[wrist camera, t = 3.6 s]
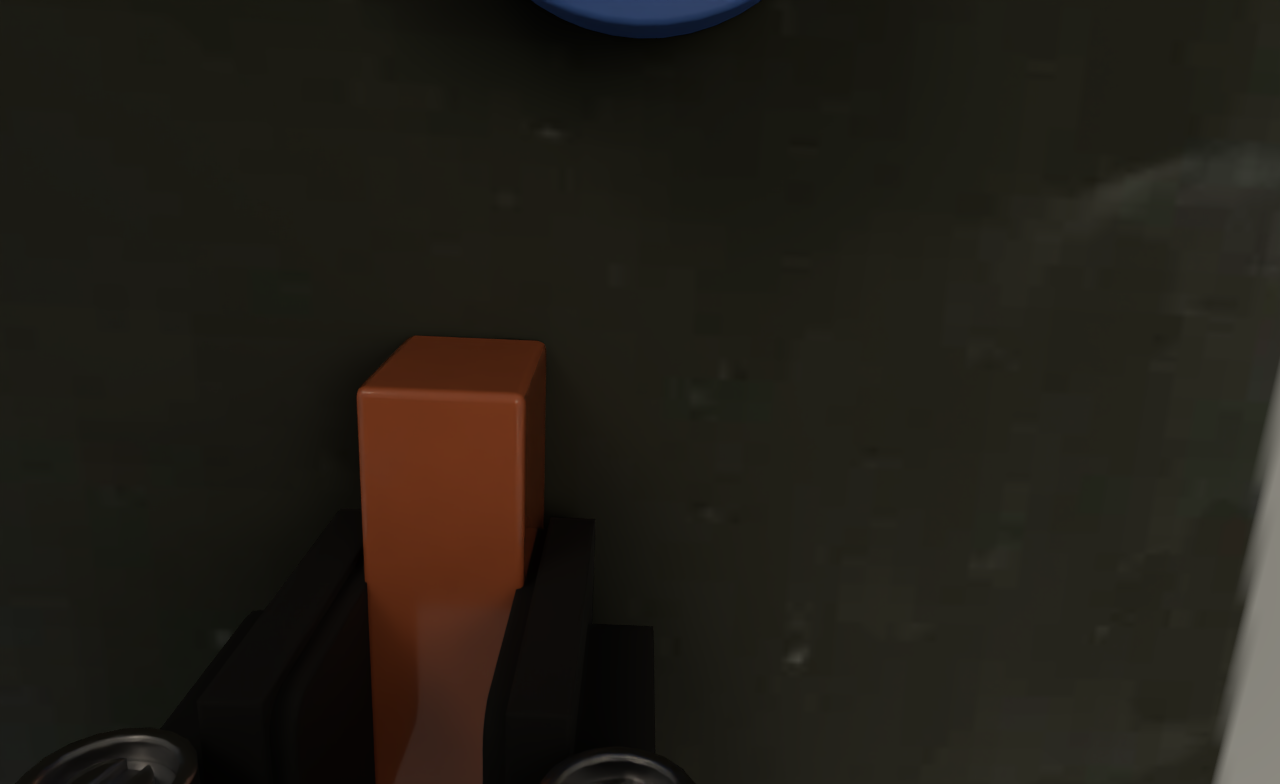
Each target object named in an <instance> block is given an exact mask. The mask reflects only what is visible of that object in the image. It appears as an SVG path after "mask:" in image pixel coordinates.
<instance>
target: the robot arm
mask: <svg viewBox="0 0 1280 784" xmlns="http://www.w3.org/2000/svg"><path fill="white" fill-rule="evenodd" d="M594 550H595V519H582V518H558V517H551V518H550V521H549V526H548V529H540V528H539V529H538V531H537V536H536V540H535V544H534V548H533V552H532V556H531V560H530V564H529V568H528V572H527V576H526V580H525V584H524V586H523V587H522V588H520V589H516V592H515V595H514V599H513V603H512V607H511V611H510V614H509V618H508V622H507V626H506V629H505V633H504V637H503V641H502V645H501V648H500V652H499V656H498V660H497V663H496V667H495V671H494V675H493V679H492V682H491V686H490V690H489V694H488V698H487V703H486V710H485V717H484V727H483V749H482V751H483V784H695V783H694V782H693V780H692V779H691V778H690V777H689V776H688V775H687V773H686V772H685V771H684V770H683V769H682V768H681V767H679V766H678V765H676V764H674V763H673V762H671V761H670V760H668V759H667V758H665V757H663V756H660V755H657V754H655V702H654V634H653V626H631V625H607V624H592V611H593V581H594ZM15 784H376V783H375V760H374V736H373V712H372V689H371V665H370V641H369V618H368V594H367V582H365V580H364V563H363V541H362V518H361V509H343V508H341V509H340V510H339V511H338V512H337V513H336V515H335V516H334V517H333V519H332V520H331V521H330V523H329V524H328V525H327V527H326V528H325V529H324V531H323V532H322V533H321V535H320V536H319V537H318V539H317V540H316V542H315V543H314V544H313V546H312V547H311V548H310V550H309V551H308V552H307V554H306V555H305V556H304V558H303V559H302V560H301V562H300V563H299V564H298V566H297V567H296V568H295V570H294V571H293V572H292V574H291V575H290V576H289V578H288V579H287V581H286V582H285V583H284V585H283V586H282V587H281V589H280V590H279V591H278V593H277V594H276V595H275V597H274V598H273V599H272V601H271V602H270V603H269V605H268V606H267V607H266V609H265V610H257V611H252V612H251V613H250V614H249V615H248V616H247V617H246V618H245V619H244V621H243V622H242V623H241V624H240V626H239V627H238V628H237V630H236V631H235V632H234V634H233V635H232V636H231V637H230V639H229V640H228V641H227V643H226V644H225V645H224V647H223V648H222V649H221V650H220V652H219V653H218V654H217V656H216V657H215V658H214V660H213V661H212V662H211V663H210V665H209V666H208V667H207V669H206V670H205V671H204V673H203V674H202V675H201V676H200V678H199V679H198V680H197V682H196V683H195V684H194V686H193V687H192V688H191V689H190V691H189V692H188V693H187V695H186V696H185V697H184V699H183V700H182V701H181V702H180V704H179V705H178V706H177V708H176V709H175V710H174V712H173V713H172V714H171V715H170V717H169V718H168V719H167V721H166V722H165V723H164V725H163V726H162V727H161V728H160V729H156V728H124V729H119V730H114V731H109V732H104V733H100V734H96V735H93V736H90V737H87V738H85V739H82V740H79V741H76V742H74V743H71V744H68V745H67V746H65V747H63V748H61V749H59V750H58V751H56V752H54V753H52V754H50V755H48V756H47V757H45V758H43V759H42V760H41V761H40V762H39V763H37V764H36V765H35V766H34V767H32V768H31V769H30V770H29V771H28V772H26V773H25V774H24V775H23V776H22V777H21V778H20V779H19V780H18V781H17V782H16V783H15Z"/></svg>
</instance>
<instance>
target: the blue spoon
mask: <svg viewBox="0 0 1280 784" xmlns="http://www.w3.org/2000/svg"><path fill="white" fill-rule="evenodd" d="M532 1H533V2H534V3H535V4H537V5H538V6H540V7H542V8H543V9H545V10H547V11H549V12H550V13H552V14H554V15H556V16H557V17H559V18H561V19H563V20H566V21H568V22H570V23H573V24H575V25H578V26H580V27H583V28H585V29H589V30H592V31H596V32H600V33H604V34H608V35H612V36H621V37H630V38H665V37H671V36H678V35H684V34H690V33H693V32H696V31H699V30H703V29H706V28H709V27H712V26H715V25H718V24H720V23H722V22H724V21H726V20H728V19H731V18H733V17H735V16H737V15H739V14H741V13H742V12H744V11H746V10H747V9H749V8H750V7H752V6H753V5H755V4H757V3H758V2H760V1H761V0H532Z"/></svg>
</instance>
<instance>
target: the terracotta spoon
mask: <svg viewBox="0 0 1280 784" xmlns="http://www.w3.org/2000/svg"><path fill="white" fill-rule="evenodd" d="M356 405H357V427H358V450H359V473H360V495H361V518H362V541H363V563H364V580H365V582H367V594H368V618H369V641H370V665H371V689H372V712H373V736H374V760H375V783H376V784H483V751H482V749H483V727H484V717H485V710H486V703H487V698H488V694H489V690H490V686H491V682H492V679H493V675H494V671H495V667H496V663H497V660H498V656H499V652H500V648H501V645H502V641H503V637H504V633H505V629H506V626H507V622H508V618H509V614H510V611H511V607H512V603H513V599H514V595H515V592H516V589H520V588H522V587H523V586H524V584H525V580H526V576H527V572H528V568H529V564H530V560H531V556H532V552H533V548H534V544H535V540H536V536H537V531H538V529H539V528H540V529H544V473H545V405H546V348H545V345H544V343H542V342H539V341H530V340H507V339H483V338H459V337H435V336H412V337H409V338H408V339H407V340H406V341H405V342H404V343H403V344H402V345H401V346H400V347H399V348H398V349H397V350H396V351H395V352H394V353H393V354H392V355H391V356H390V357H389V358H388V359H387V360H386V361H385V362H384V363H383V364H382V365H381V366H380V367H379V368H378V369H377V370H376V371H375V372H374V373H373V374H372V375H371V376H370V377H369V378H368V379H367V380H366V381H365V382H364V383H363V384H362V385H361V386H360V387H359V389H358V391H357V394H356Z"/></svg>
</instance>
